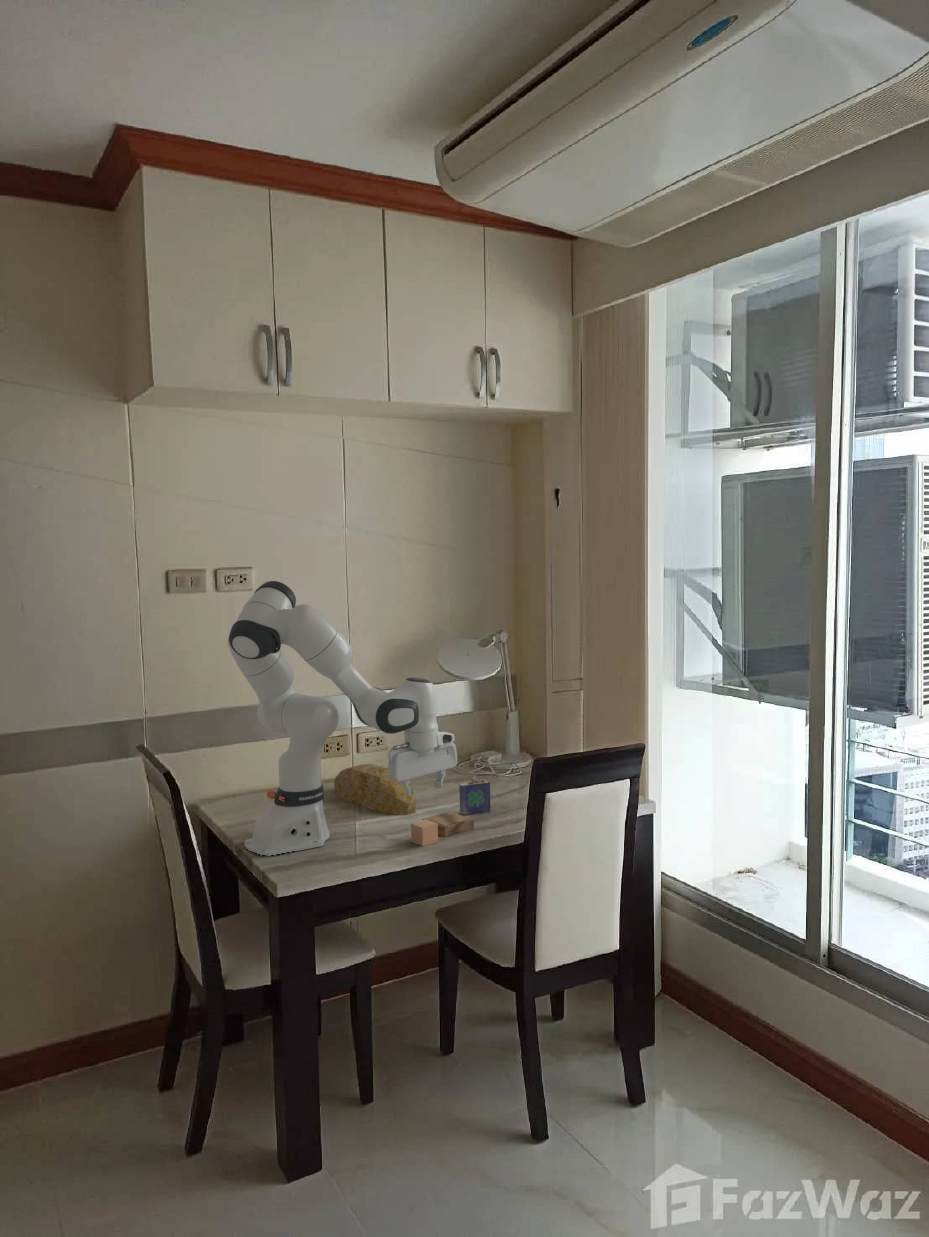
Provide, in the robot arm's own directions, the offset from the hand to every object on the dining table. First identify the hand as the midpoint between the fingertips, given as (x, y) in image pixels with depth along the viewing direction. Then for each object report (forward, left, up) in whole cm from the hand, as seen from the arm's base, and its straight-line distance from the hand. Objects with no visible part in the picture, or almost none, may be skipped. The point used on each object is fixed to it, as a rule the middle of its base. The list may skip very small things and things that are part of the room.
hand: (424, 791), depth 241 cm
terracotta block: (0, 0, -14) cm, 14 cm away
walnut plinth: (+11, +4, -14) cm, 18 cm away
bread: (+10, +39, -14) cm, 43 cm away
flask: (+25, +9, -14) cm, 30 cm away
